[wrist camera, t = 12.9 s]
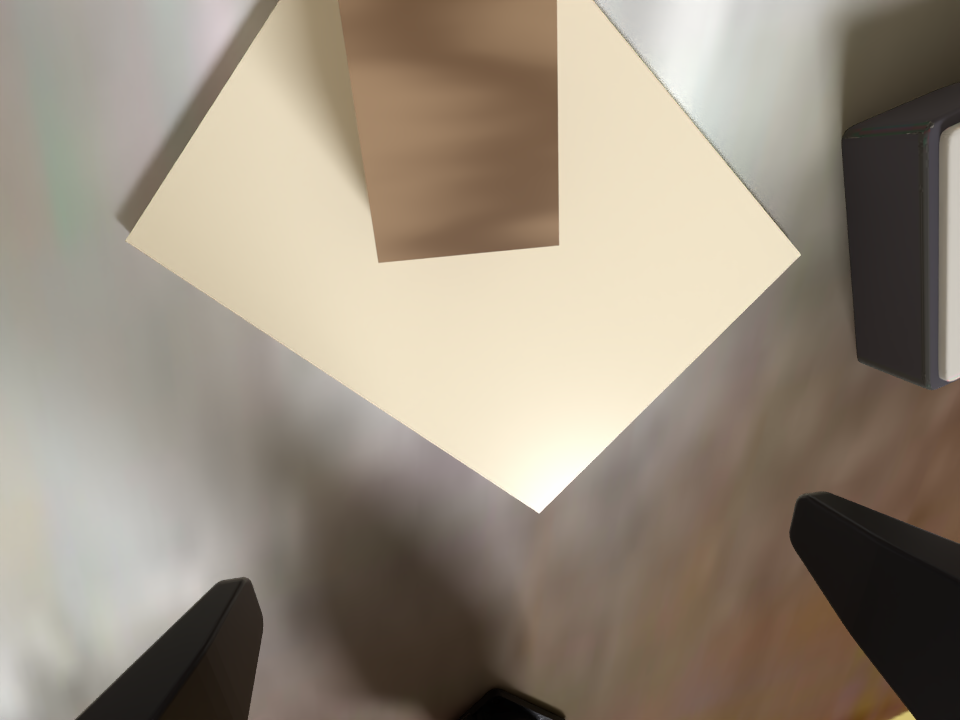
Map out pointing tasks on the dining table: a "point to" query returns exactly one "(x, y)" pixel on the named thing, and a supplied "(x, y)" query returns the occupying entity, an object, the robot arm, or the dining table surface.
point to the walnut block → (456, 123)
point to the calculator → (907, 238)
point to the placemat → (472, 277)
